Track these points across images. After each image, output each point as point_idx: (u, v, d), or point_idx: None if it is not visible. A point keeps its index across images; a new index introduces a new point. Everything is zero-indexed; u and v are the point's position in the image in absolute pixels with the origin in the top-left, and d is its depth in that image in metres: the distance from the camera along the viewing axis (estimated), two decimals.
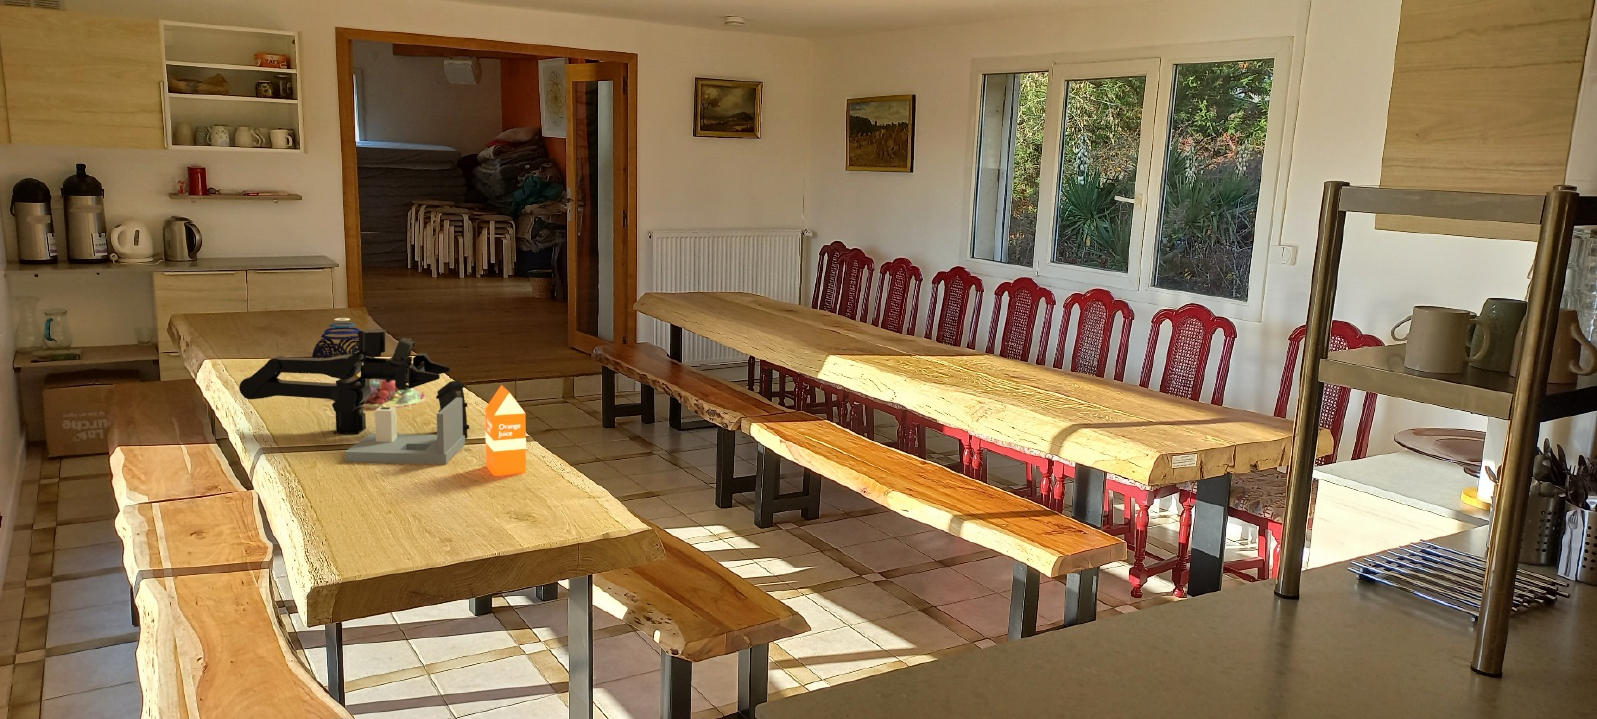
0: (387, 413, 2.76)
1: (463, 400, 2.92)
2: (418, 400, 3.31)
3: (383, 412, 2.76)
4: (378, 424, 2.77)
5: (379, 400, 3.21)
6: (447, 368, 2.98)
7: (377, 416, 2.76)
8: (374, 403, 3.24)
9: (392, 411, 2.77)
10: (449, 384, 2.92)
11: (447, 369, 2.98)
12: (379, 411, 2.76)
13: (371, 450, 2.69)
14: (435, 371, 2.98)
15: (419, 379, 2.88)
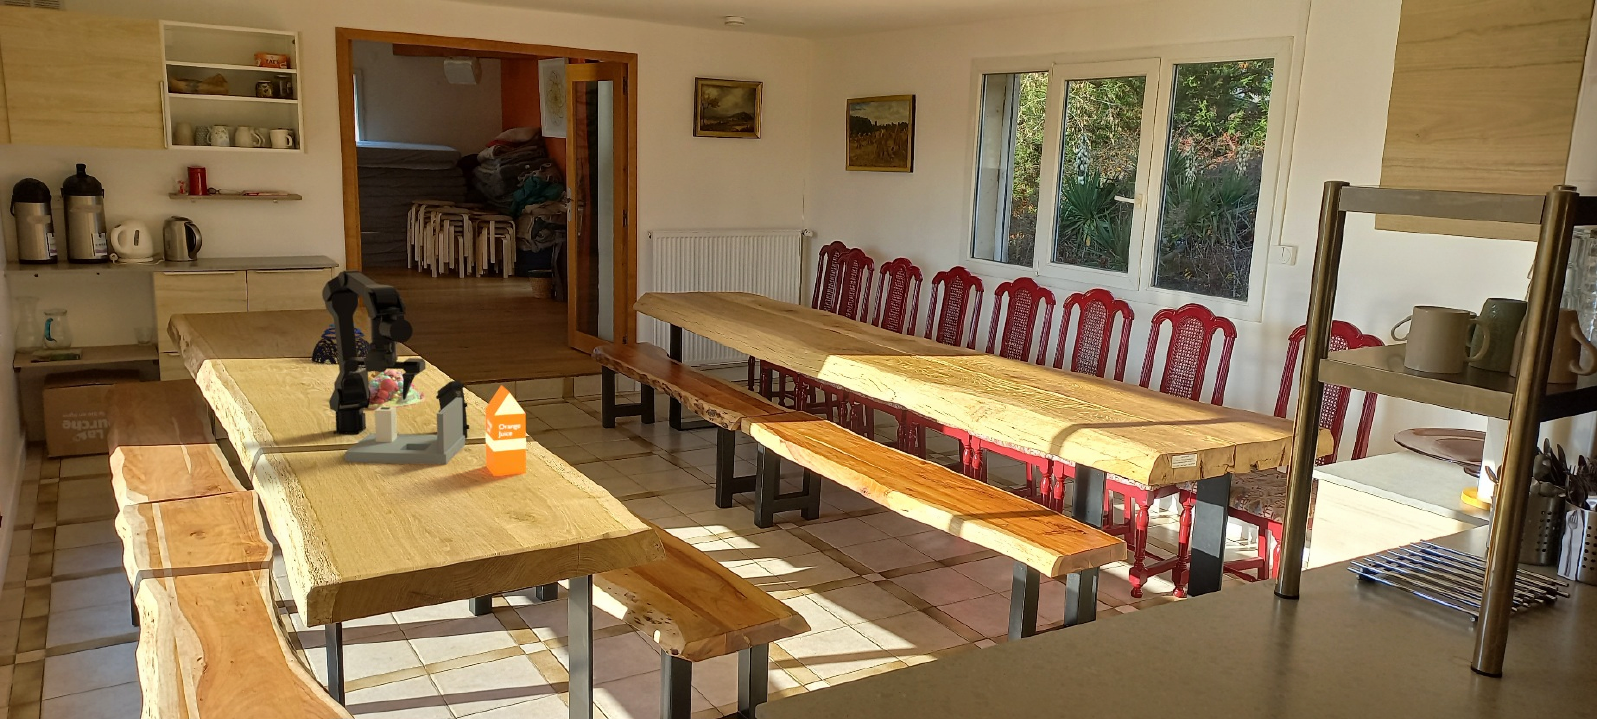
0: (387, 413, 2.76)
1: (463, 400, 2.92)
2: (417, 400, 3.31)
3: (383, 412, 2.76)
4: (378, 424, 2.77)
5: (378, 400, 3.21)
6: None
7: (377, 416, 2.76)
8: (373, 403, 3.24)
9: (392, 411, 2.77)
10: (449, 384, 2.92)
11: None
12: (379, 411, 2.76)
13: (371, 450, 2.69)
14: None
15: None
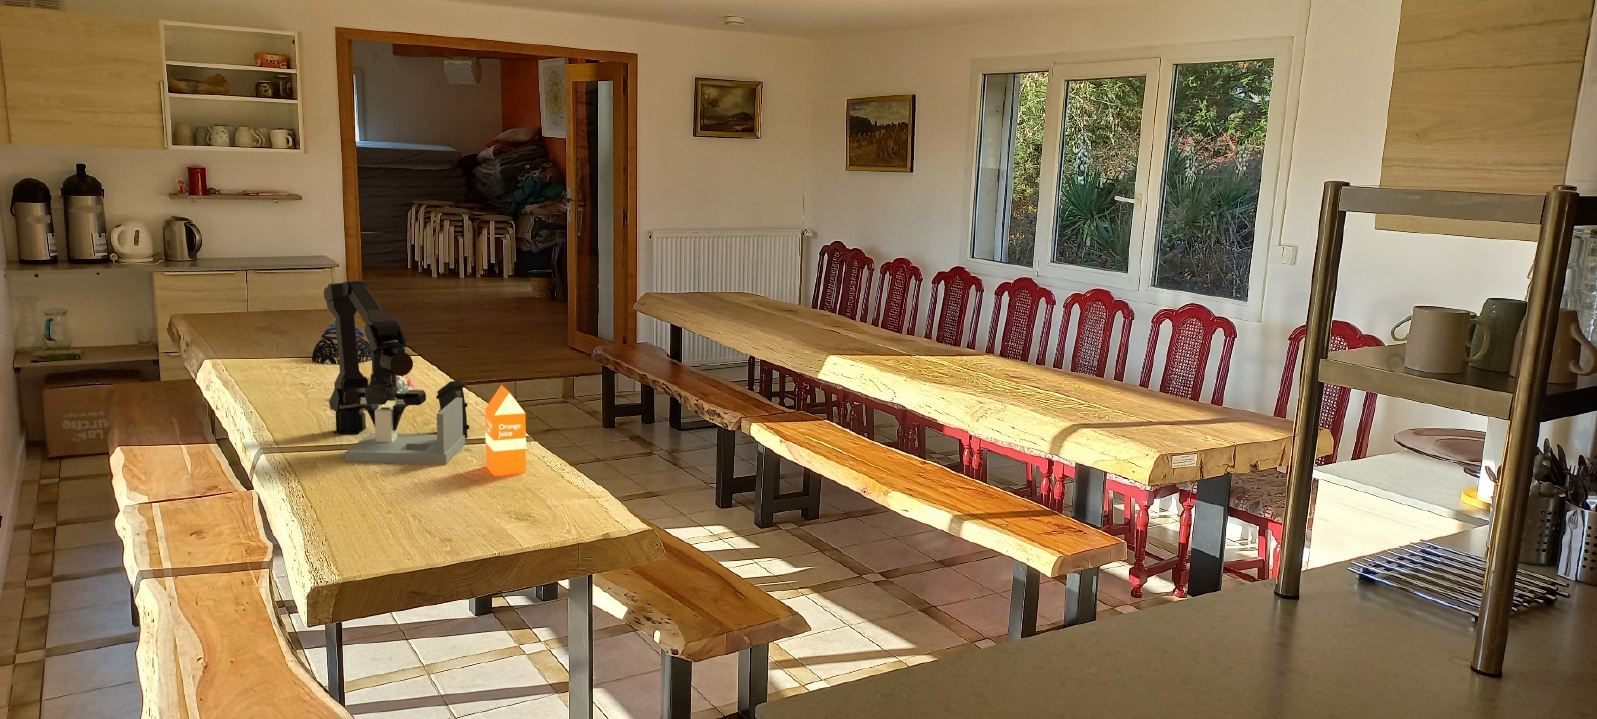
0: (387, 413, 2.76)
1: (463, 400, 2.92)
2: None
3: (383, 412, 2.76)
4: (378, 424, 2.77)
5: None
6: None
7: (377, 416, 2.76)
8: None
9: (392, 411, 2.77)
10: (449, 384, 2.92)
11: None
12: (379, 411, 2.76)
13: (371, 450, 2.69)
14: None
15: None
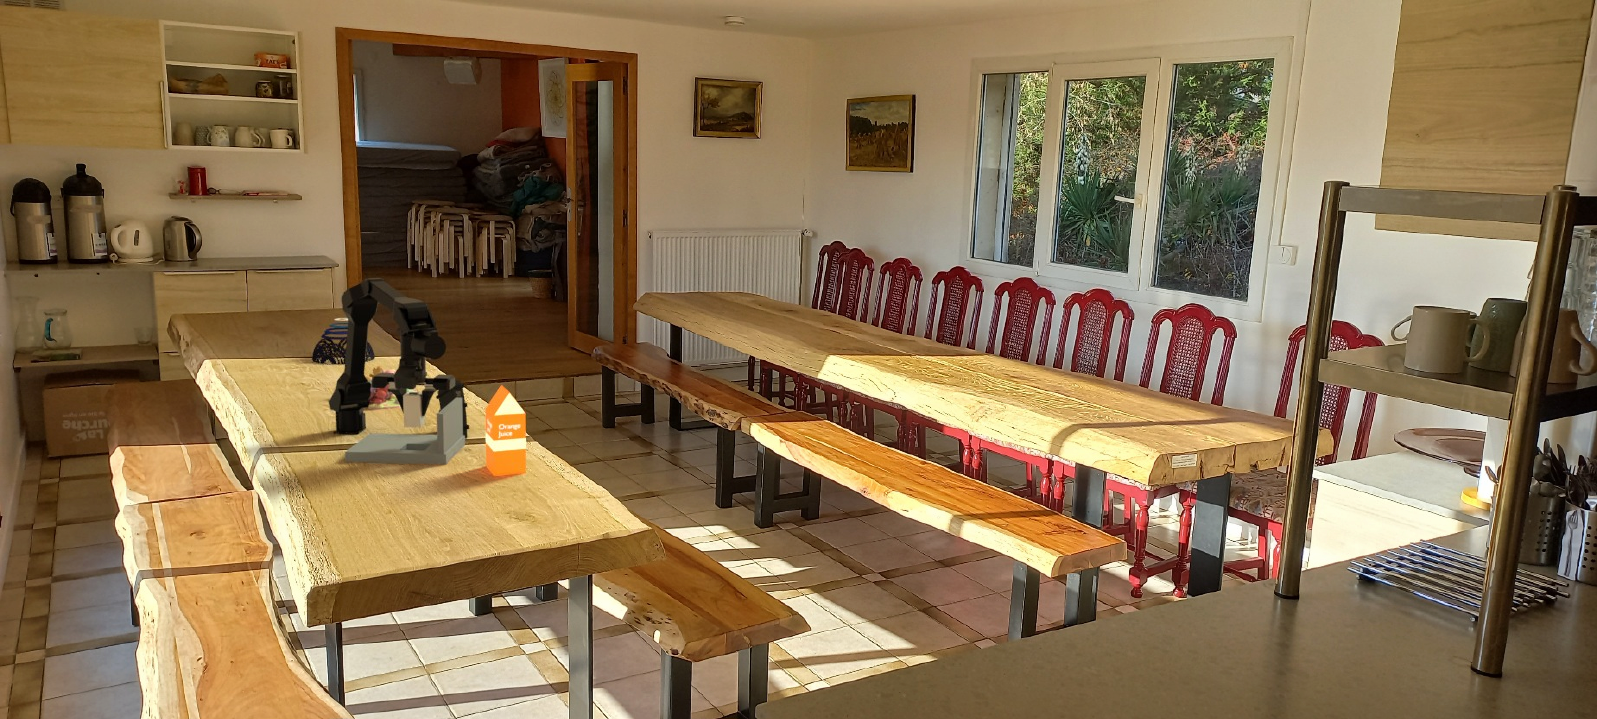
0: (416, 398, 2.70)
1: (463, 400, 2.92)
2: None
3: (412, 397, 2.70)
4: (406, 409, 2.70)
5: (376, 400, 3.20)
6: None
7: (405, 401, 2.70)
8: (371, 403, 3.24)
9: (421, 396, 2.71)
10: None
11: None
12: (408, 396, 2.70)
13: (371, 450, 2.69)
14: None
15: None
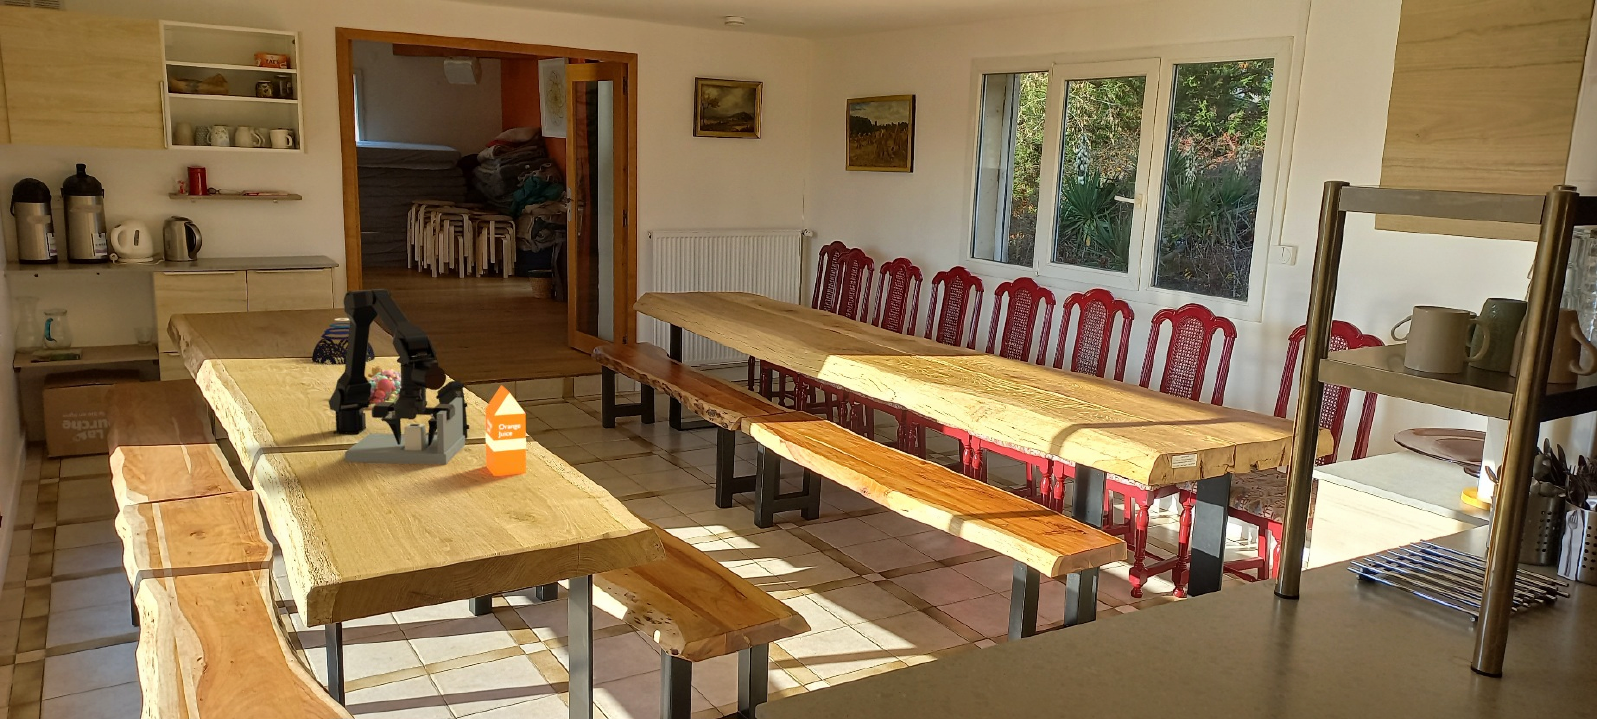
0: (417, 430, 2.71)
1: (463, 400, 2.92)
2: None
3: (413, 429, 2.71)
4: (407, 441, 2.72)
5: (375, 400, 3.20)
6: None
7: (406, 433, 2.71)
8: (370, 403, 3.24)
9: (422, 428, 2.72)
10: (449, 384, 2.92)
11: None
12: (409, 428, 2.71)
13: (371, 450, 2.69)
14: None
15: None
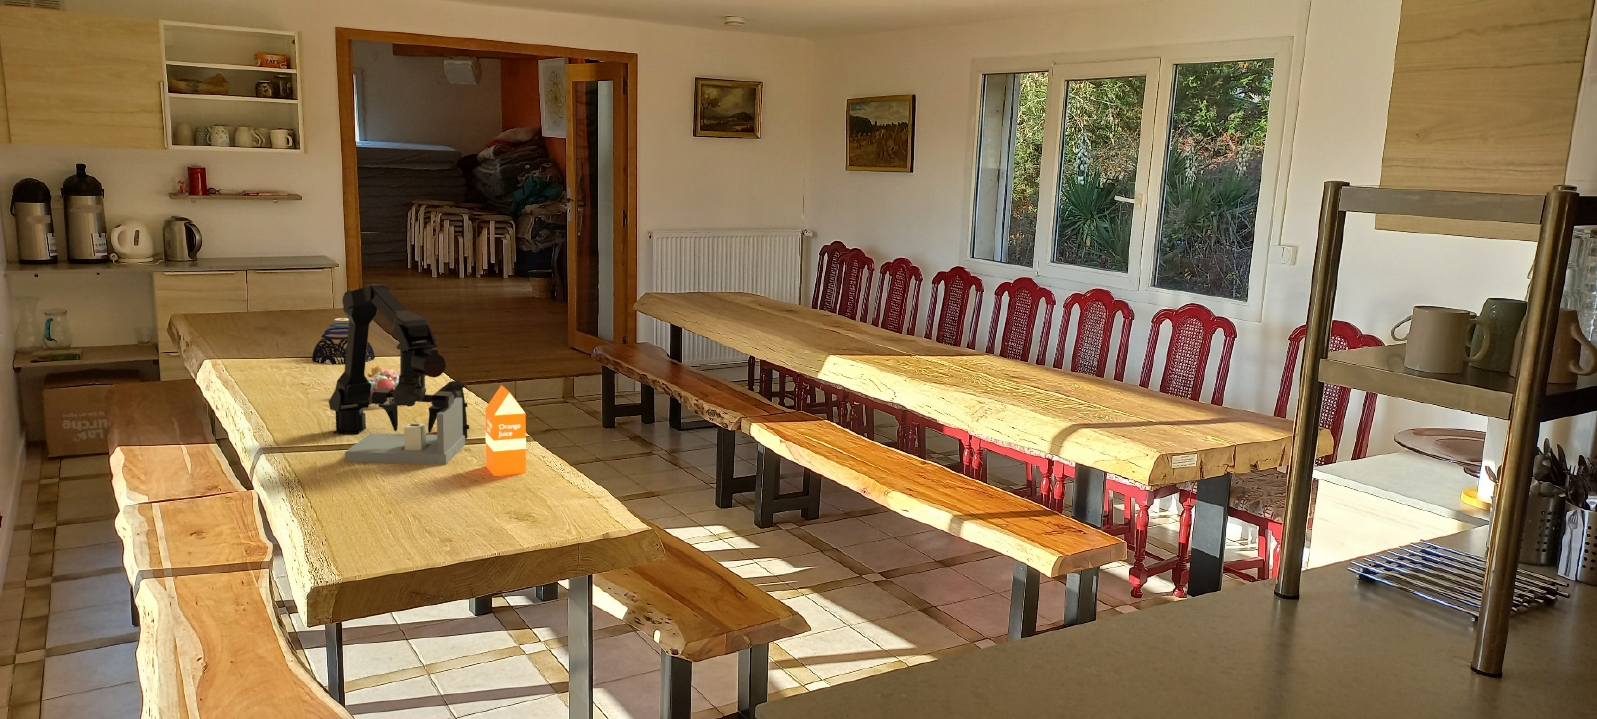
0: (417, 430, 2.71)
1: (463, 400, 2.92)
2: None
3: (413, 429, 2.71)
4: (407, 441, 2.72)
5: None
6: None
7: (407, 433, 2.71)
8: (370, 403, 3.24)
9: (422, 428, 2.72)
10: (449, 384, 2.92)
11: None
12: (409, 428, 2.71)
13: (371, 450, 2.69)
14: None
15: None
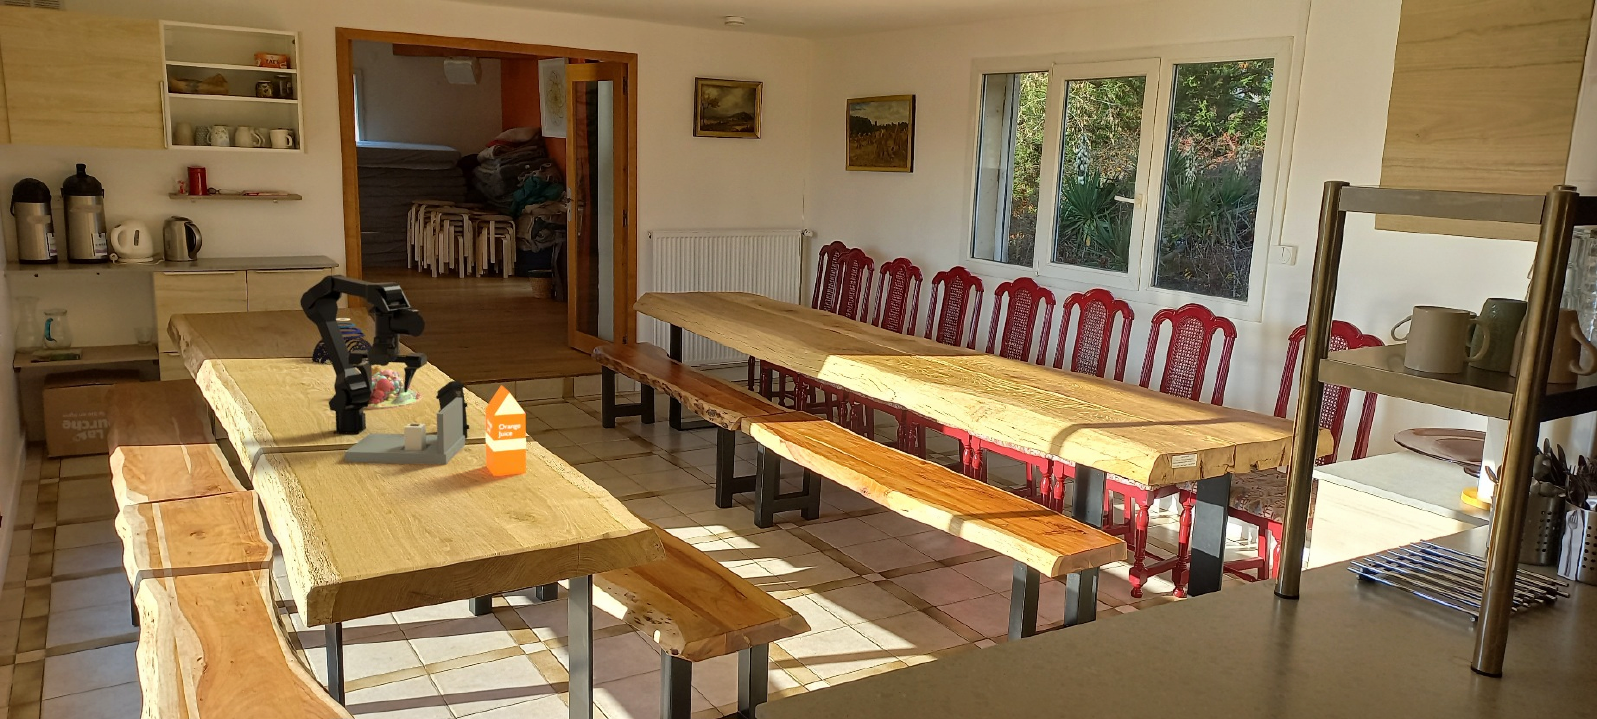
0: (417, 430, 2.71)
1: (463, 400, 2.92)
2: (413, 400, 3.30)
3: (413, 429, 2.71)
4: (407, 441, 2.72)
5: (374, 400, 3.20)
6: None
7: (407, 433, 2.71)
8: (369, 403, 3.24)
9: (422, 428, 2.72)
10: (449, 384, 2.92)
11: None
12: (409, 428, 2.71)
13: (371, 450, 2.69)
14: None
15: None
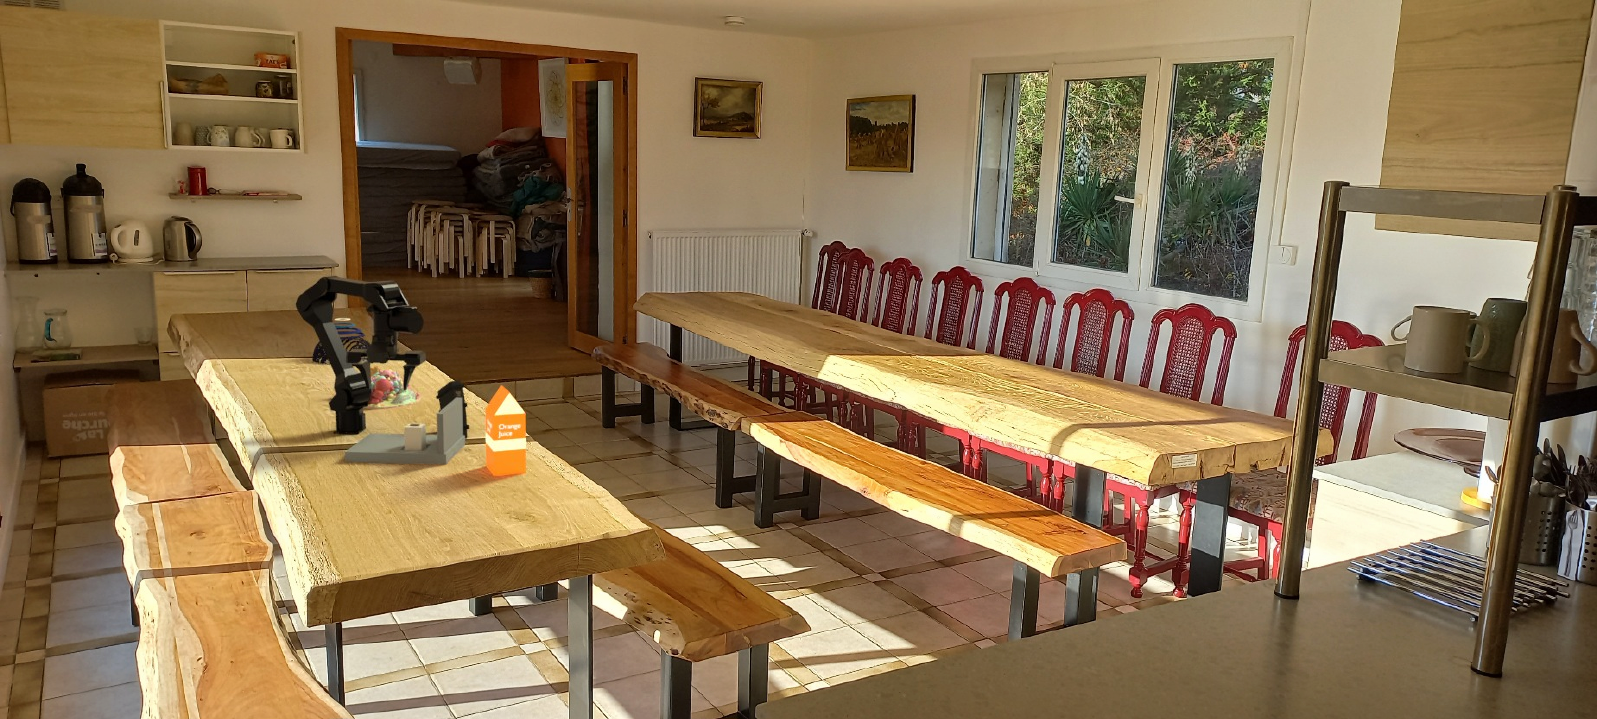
0: (417, 430, 2.71)
1: (463, 400, 2.92)
2: (413, 400, 3.30)
3: (413, 429, 2.71)
4: (407, 441, 2.72)
5: (374, 400, 3.20)
6: None
7: (407, 433, 2.71)
8: (369, 403, 3.23)
9: (422, 428, 2.72)
10: (449, 384, 2.92)
11: None
12: (409, 428, 2.71)
13: (371, 450, 2.69)
14: None
15: None
